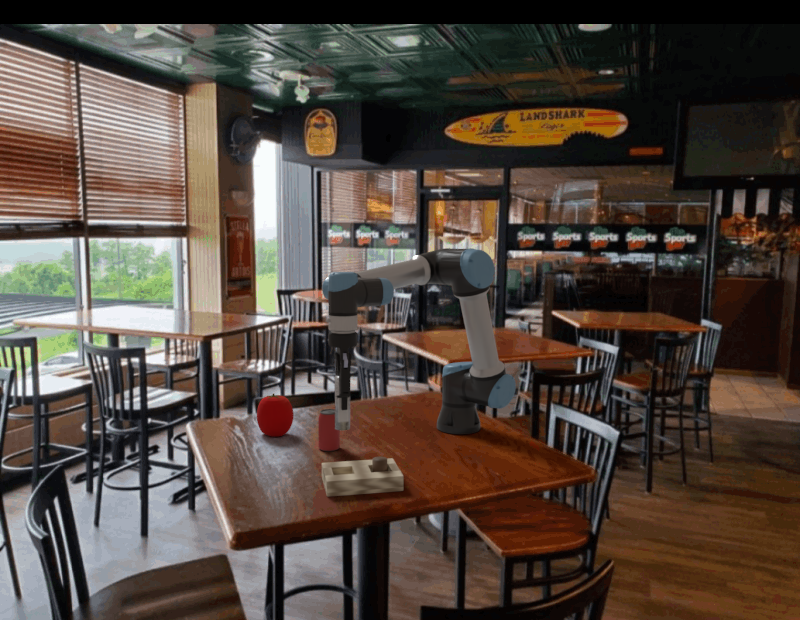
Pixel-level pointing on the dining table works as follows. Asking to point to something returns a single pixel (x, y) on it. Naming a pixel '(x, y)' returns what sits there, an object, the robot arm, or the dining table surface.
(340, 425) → the steel pin
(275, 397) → the tomato
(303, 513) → the dining table surface
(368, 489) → the socket block
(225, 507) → the dining table surface
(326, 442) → the beer can
